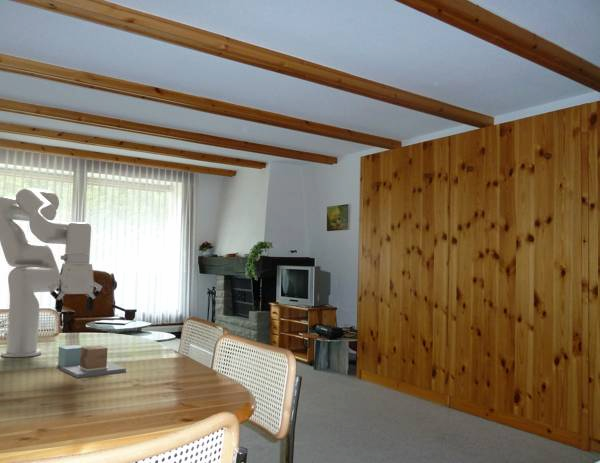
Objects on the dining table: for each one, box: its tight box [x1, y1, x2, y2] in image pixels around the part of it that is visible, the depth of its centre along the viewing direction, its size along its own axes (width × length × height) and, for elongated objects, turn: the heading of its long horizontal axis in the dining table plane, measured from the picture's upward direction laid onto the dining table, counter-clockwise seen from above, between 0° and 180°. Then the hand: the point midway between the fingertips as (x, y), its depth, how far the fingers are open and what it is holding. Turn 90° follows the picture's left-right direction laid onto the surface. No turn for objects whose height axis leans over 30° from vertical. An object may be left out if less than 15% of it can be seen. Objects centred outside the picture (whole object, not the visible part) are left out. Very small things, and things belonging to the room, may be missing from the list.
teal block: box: [57, 344, 83, 367], centre depth 169 cm, size 6×6×6 cm
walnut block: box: [80, 344, 109, 370], centre depth 163 cm, size 6×6×6 cm
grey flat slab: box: [59, 360, 127, 379], centre depth 162 cm, size 14×15×1 cm
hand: (74, 311), depth 170 cm, fingers open, 9 cm apart
